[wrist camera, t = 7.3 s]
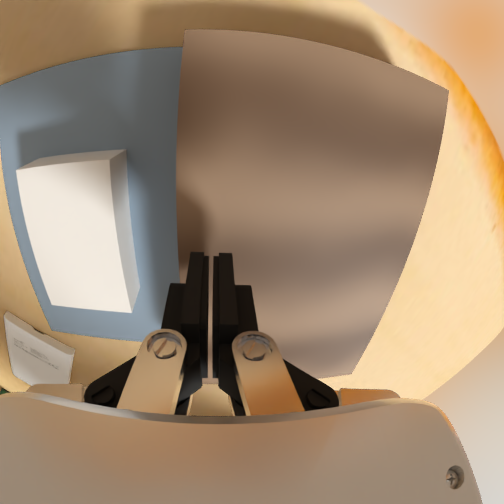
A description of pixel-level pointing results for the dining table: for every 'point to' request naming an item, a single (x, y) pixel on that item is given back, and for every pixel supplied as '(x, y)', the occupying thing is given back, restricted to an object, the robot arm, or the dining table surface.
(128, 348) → the dining table surface
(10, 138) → the mat
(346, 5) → the dining table surface
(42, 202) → the white foam block
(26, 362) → the external hard drive
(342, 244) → the brown flat block
